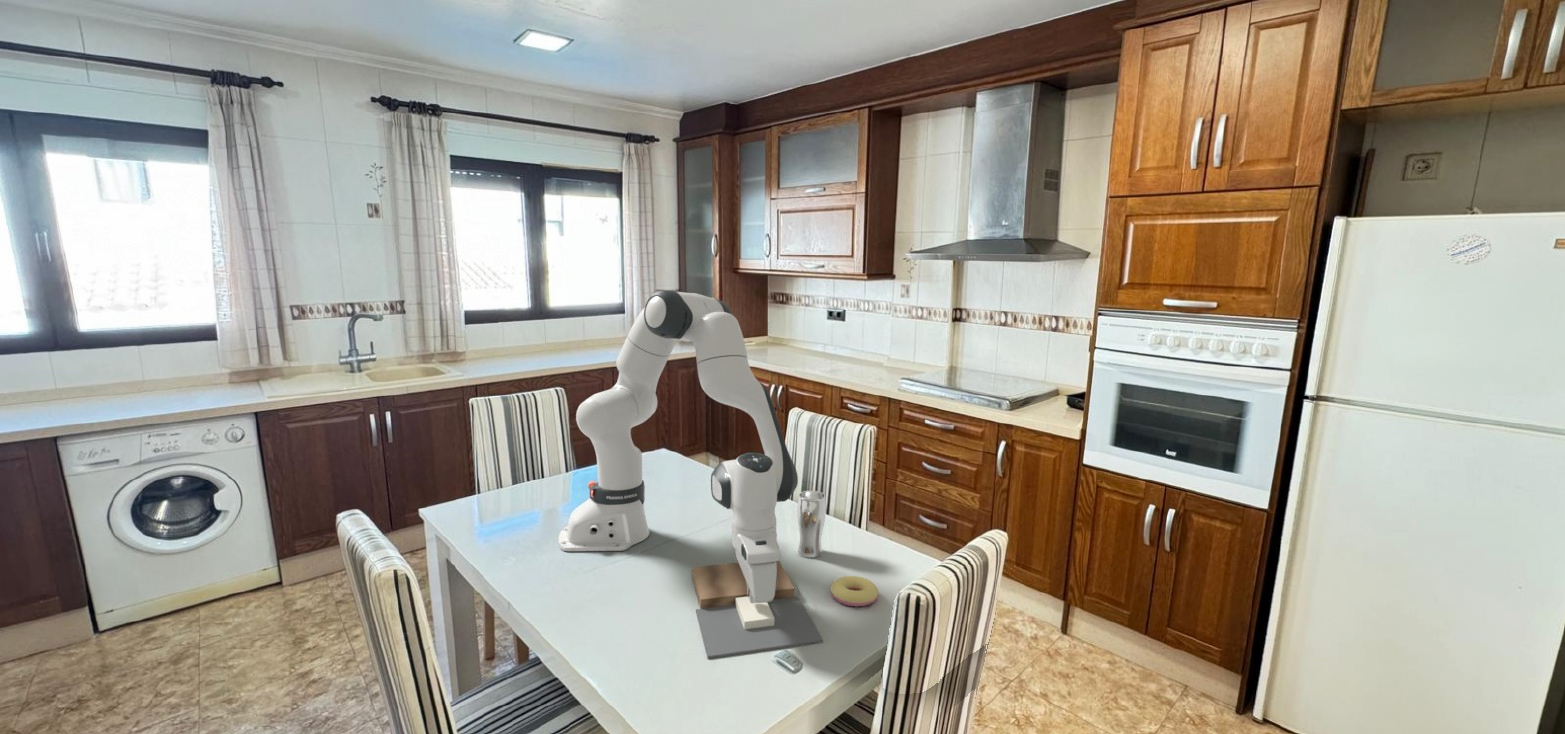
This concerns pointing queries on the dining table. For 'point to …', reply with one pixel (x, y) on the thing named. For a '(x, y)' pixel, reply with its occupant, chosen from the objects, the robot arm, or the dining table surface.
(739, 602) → the tile
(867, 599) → the donut
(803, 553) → the beer glass
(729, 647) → the mat
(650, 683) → the dining table surface
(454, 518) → the dining table surface
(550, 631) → the dining table surface
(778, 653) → the dining table surface
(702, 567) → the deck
